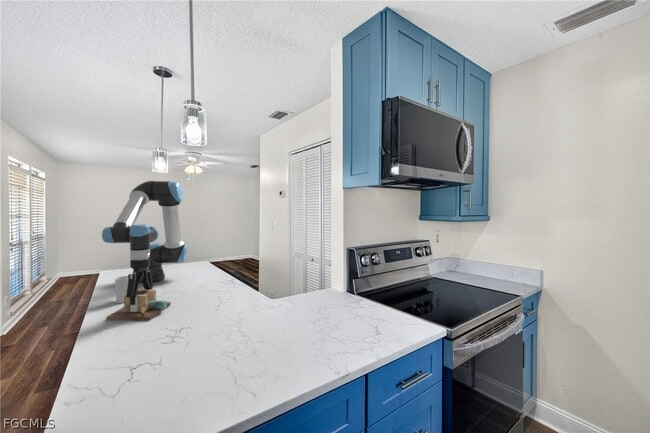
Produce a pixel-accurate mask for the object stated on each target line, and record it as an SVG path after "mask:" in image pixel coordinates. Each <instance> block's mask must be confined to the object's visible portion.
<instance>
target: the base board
mask: <svg viewBox="0 0 650 433" xmlns="http://www.w3.org/2000/svg"><path fill="white" fill-rule="evenodd" d="M171 303H172V302H171V301H166V308H165V309H148V310H147V311H145V315H144V316H141V312H124V306H123V307H121V308H119V309H117V310H115V311H114V312H112V313H110V314H108V315H107V316H106V319H105V320H106V321H151V320H152V319H154V318H155V317H157V316H158V315H159V314H161V313H162V312H163V311H164V310H166V309H167V308H169V307H170V306H171V305H172V304H171Z"/></svg>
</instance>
